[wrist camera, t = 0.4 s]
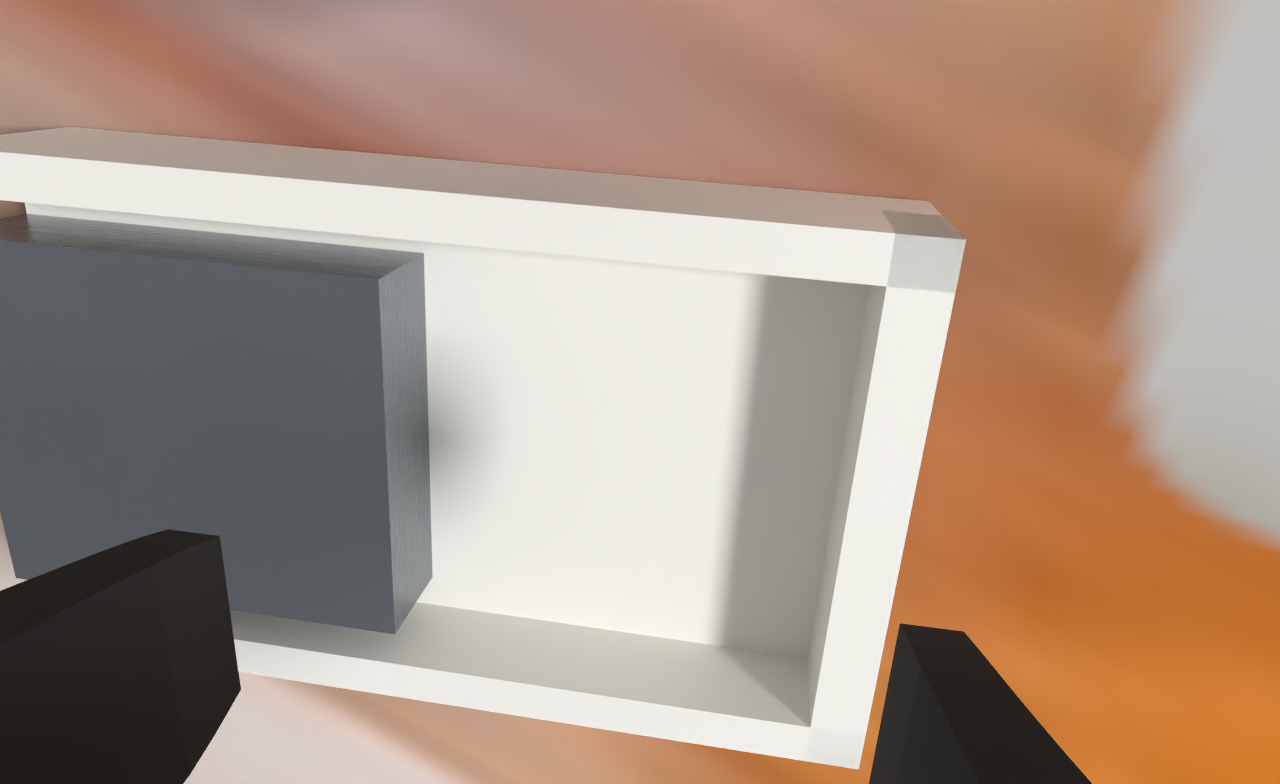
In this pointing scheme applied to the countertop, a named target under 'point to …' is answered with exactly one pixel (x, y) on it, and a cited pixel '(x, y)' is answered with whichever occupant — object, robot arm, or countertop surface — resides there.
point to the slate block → (219, 409)
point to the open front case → (606, 425)
